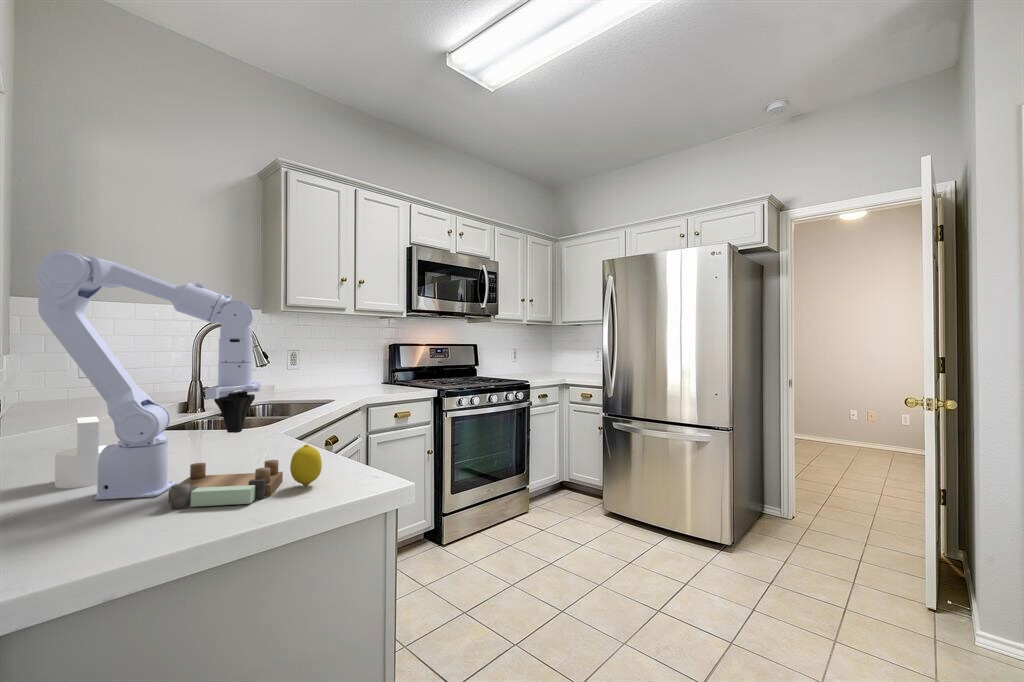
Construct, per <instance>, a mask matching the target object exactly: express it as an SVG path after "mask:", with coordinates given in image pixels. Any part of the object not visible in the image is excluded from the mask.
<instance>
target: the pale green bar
mask: <svg viewBox="0 0 1024 682" xmlns="http://www.w3.org/2000/svg"><path fill="white" fill-rule="evenodd" d="M254 499H255V485H245V486H223V487H201V488H196V489H195V490H193V491H192V492H191V505H190V507H191V508H192V507H207V506H208V507H210V506H224V505H225V506H226V505H247V504H250V505H251V503H253V501H255V500H254Z"/></svg>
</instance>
